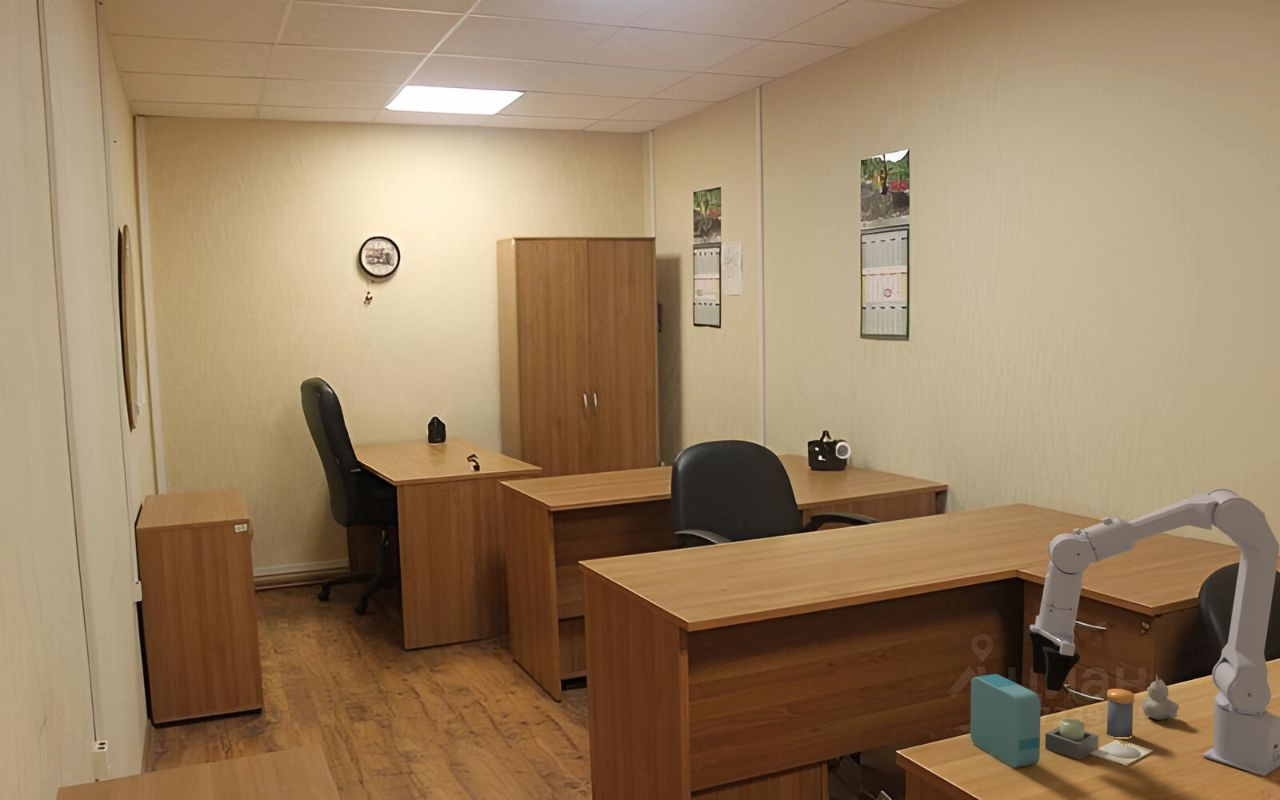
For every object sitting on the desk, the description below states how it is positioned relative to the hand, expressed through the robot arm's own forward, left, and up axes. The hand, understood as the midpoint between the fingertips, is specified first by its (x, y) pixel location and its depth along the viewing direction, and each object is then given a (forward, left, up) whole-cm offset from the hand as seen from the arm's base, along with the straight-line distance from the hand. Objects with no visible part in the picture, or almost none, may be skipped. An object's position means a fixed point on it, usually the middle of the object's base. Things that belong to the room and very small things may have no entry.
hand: (1045, 681), depth 174 cm
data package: (+1, +10, -11) cm, 15 cm away
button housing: (-5, 0, -11) cm, 12 cm away
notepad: (-11, -5, -11) cm, 16 cm away
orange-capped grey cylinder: (-7, -12, -11) cm, 18 cm away
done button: (-5, 0, -9) cm, 10 cm away
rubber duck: (-8, -25, -11) cm, 28 cm away
